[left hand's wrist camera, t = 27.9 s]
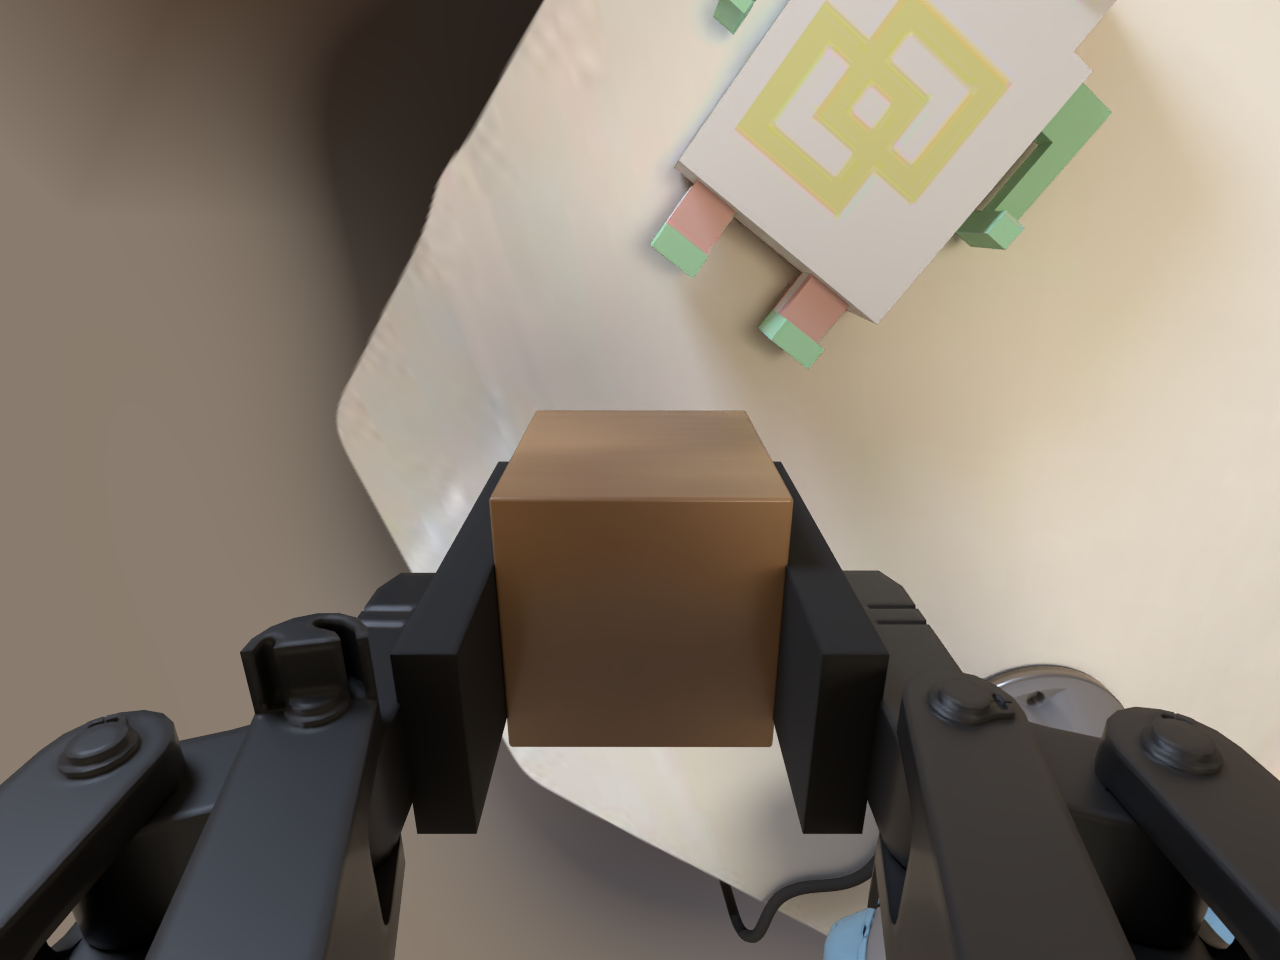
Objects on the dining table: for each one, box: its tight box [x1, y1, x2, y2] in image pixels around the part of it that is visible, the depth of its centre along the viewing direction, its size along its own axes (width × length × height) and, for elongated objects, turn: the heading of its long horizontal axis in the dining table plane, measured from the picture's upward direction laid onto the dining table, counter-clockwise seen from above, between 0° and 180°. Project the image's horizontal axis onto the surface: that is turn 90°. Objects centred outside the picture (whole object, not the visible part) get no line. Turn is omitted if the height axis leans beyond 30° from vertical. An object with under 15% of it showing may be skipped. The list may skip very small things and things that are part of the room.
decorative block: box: [651, 0, 1116, 369], centre depth 38 cm, size 26×6×20 cm
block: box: [489, 411, 793, 747], centre depth 12 cm, size 4×4×5 cm
